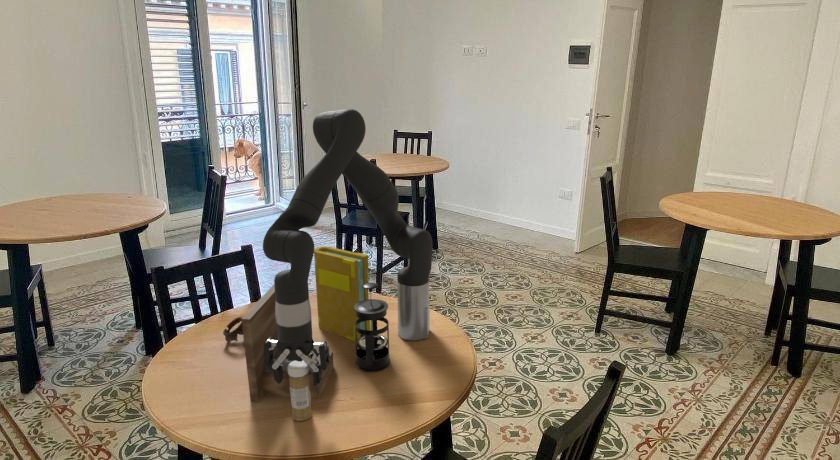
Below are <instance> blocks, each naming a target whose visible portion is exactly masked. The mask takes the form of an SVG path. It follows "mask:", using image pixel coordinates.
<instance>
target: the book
mask: <svg viewBox="0 0 840 460" xmlns="http://www.w3.org/2000/svg"><path fill="white" fill-rule="evenodd" d="M313 258H314V273H315V274H314V275H315V287H316V303H317V317H318V318H317V322H318V328H319V329H320V330H322V331H325V332H329V333H332V334H335V335H338V336H341V337H344V338H346V339H347V340H350V341H352V342H355V322H356V320H358V319H359V318H358V317H357V316H356V311H355V310H354V306H355V304H356V303H358V302H360V301H362V300H367V299H370V294H369V289H365V288H363V287H362V286H363V284H365V283H369V254H365V253H361V252H354V251H349V250H344V249H341V248H338V247H337V248H336V247H332V246H327V245H326V246H319V247H316V248H315V247H314V254H313ZM357 327H358V328H360V329H362V330H369V331H371V320H367V321H363V322H361V323H359V324H358V325H357ZM361 335H362V334H360V333H358V332H357V340H358V339H359V338H360V337H362V336H361Z"/></svg>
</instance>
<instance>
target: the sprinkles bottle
mask: <svg viewBox="0 0 840 460" xmlns="http://www.w3.org/2000/svg"><path fill="white" fill-rule="evenodd" d="M308 371H309V368H308V365H307V364H306V363H305V362H304V361H302V362H301V361H293V362H291V363H290V364H289V365H288V374H289V381H290V395H291V397H290V406H291V412H292V413H291V417H292V419H293V420H294V421H297V422H303V421H306V420H308V419H310V418H311V417H312V414H313V412H312V406H311V401H312V398H310V390H309V378H308Z"/></svg>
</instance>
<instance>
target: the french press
mask: <svg viewBox="0 0 840 460" xmlns="http://www.w3.org/2000/svg"><path fill="white" fill-rule="evenodd" d="M379 286H380V285H379V284H378V283H376V282H368V283H365V284H363V286H362V287H363V288H365V289H368V293H369V299H367V300H362V301H360V302H358V303H356V304H355V306H354V310H355V311H356V316H357V317H358V318H359V319H358V320H356V322H355V341H354V342H355V365H356V368H358V370H360V371H362V372H366V373H376V372H380V371H383V370H385V369H387V368H388V367H389V366H390V363H391V359H390V337H389V336H390V331H389V330H390V329H389V323H390V322H389V320H388V319H387V318H386V316H387V310H388V309H389V304H388V302H386V301H385V300H383V299H382V300H381V299H376V298H372V293H373V290H374V289H375V290H376V289H378V288H379ZM367 320H370V328H371V331H369V330H362V329H360V328H358V327H357V325H358V324H359V323H361V322H363V321H367ZM378 321H380V322H383V323H384V324H386V326H384V327H382V328H379V329H378ZM357 332H358V333H360V334H361V335H362V336H361V337H360V338H359V339H358V340H357ZM383 333H386V334H387V337H386V336H384V335H382V334H383ZM375 356H379V357H381V358H378V359H374V358H375ZM364 358H365V359H364Z"/></svg>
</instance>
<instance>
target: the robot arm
mask: <svg viewBox="0 0 840 460" xmlns="http://www.w3.org/2000/svg"><path fill="white" fill-rule="evenodd" d="M366 130H367V129H366V122H365V119H364V117H363V116H362V114H361V113H360V112H359V111H358V110H356V109H353V108H344V109H343V108H342V109H337V110H328V111H325V112H324V111H323V112H321V113H318V114H317V115H316V116H315V117H314V119H313V122H312V131H313V135H314V138H315V140H316V142H317V144H318V145H319V147H320V148H321V149H322V150H323V152H324V153H325V155H323V157H322V158H321V159H320V161H319V162H317V163H316V164H315V166H313V167H312V168H311V170H310V171H308V173H306V174H305V176H304V177H303V178H302V180H301V181H300V182H299V183H298V185H297V187H296V190H295V191H294V193H293V195H292V197H291V199H290V201H289V204H288V206H287V207H286V208H285V210H284V211H283V212H282V213H280V215H279V216H278V217H277V219H276V220H275V221H274V222H273V223H272V224H271V226H270V227H269V228H268V229H267V230H266V233H265V234H264V237H263V241H262V251H263V253H264V255H265V257H267V258H268V259H269V260H271V261H275V262H281V263H287V264H290V269H284V270H282V271H279V272H278V273H277V274H275V276H274V279H273V281H274V282H273V283H274V284H273V285H274V286H275V300H276V305H275V318H276V327H277V338H278V341H277V340H273V339H272V338H271V337H269V338H268V339H267V340H266V341H265V343H264V365H265V366H271V367H272V368H273V371H274V379H275V381H277V383H279V384H280V383H281V382H282V380H283V370H282V365H281V363H282V362H283V360H284V359H285V358H286V359H288V361H294V360H296V361H301V362H302V361H304V362H305V363H306V364H307V365H308V366H310V367H311V368H312V369H313V370H314V371H313V383H314V386H317V385H318V384H319V383H320V381H321V379H322V373H321V370H326V368H327V366H328V364H329V355H328V346H327V345H328V341H327V340H321V342H315V340H314V339H313V325H312V324H313V323H312V322H313V321H312V308H311V301H310V295H309V294H310V292H309V282H308V281H309V275H310V271H311V266H312V261H313V258H314V249H315V243H314V240H313V237H312V236H311V234H310V233H309V232H307V231H304V230H301V229H305V228H311V227H314V226H316V225H317V223H318V222H319V219H320V217H321V214H322V212H324V211H323V210H324V208H325V205H326V203H327V202H328V199H329V196H330V195H331V193H332V191H333V189H334V187H335V185H336V184H337V182H338V180H339V179H340V178H341V176H342V174H343V176H344V177H345V178H346V180H347V181H348V183H349V184H350V186H351V187H352V188H353V189H354V191H355V192H356V194H357V196H358V197H359V199H360V200H361V202H362V203H363V205H364V207H366V209H367V210H368V211H369V213H370V214H371V216H372V217H373V219H374V220H375V223H377V225H378V226H379V228H380V229H381V231H382V232H383V235H384V237H385V239H386V241H387V243H388V244H389V247H390V249H391V250H392V252H393V253H394V254H396V255H397V256H399V257H401V258H404V259H408V260H409V261H408V266H405V267H402V268H400V269H399V270H398V272H397V274H396V275H397V278H396V280H397V281H396V283H397V284H396V285H397V333H398V336H399V337H400V338H401V339H403V340H406V341H407V340H408V341H420V340H421V341H422V340H427V339H428V338H429V333H430V329H431V328H430V324H431V323H430V322H431V321H430V318H431V317H430V313H431V312H430V310H431V309H430V274H431V271H432V265H433V264H432V263H433V237H432V234H431V233H430V232H429V231H428V230H426V229H423V228H419V227H415V226H411V225H410V224H408V223H407V222H406V221H405V220H404V219H403V217H402V216H401V214H400V212H399V201H400V200H399V198H400V197H399V194H398V190H397V189H396V187H395V185H394V183H393V182H392V180H391V178H390V177H389V176H388V174H387V173H386V172H385V171H384V170H383V169H381V168H380V167H379V166H377V164H375V163H373V162H371V161H370V160H369V159H367V158H365V157H364V156H363V155H361V154H360V153H359V152H358V150H359V148H360V147H361V145H362V143H363V142H364V139H365V135H366ZM275 346H276V347H277V348H278V350H279V351H280V352H281V355H280V356H279V357H278V358H277V360H276V359H273V349H274V348H275ZM313 348H315V349H316V350H317V353H319V354H320V361H319V360H318V358H317V357H316V354H315V353H314V352H313V351H312V350H313ZM308 355H309V357H310V358H309V357H308Z"/></svg>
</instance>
